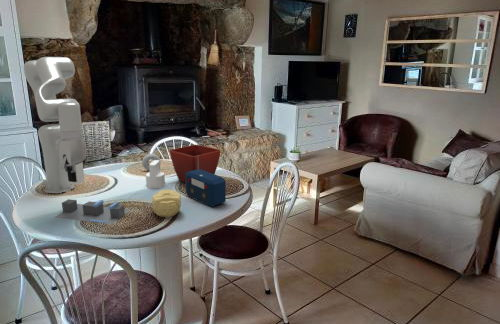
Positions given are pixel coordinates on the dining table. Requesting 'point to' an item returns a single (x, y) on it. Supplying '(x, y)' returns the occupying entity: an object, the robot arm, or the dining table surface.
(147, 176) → the cylinder with rectangular tab
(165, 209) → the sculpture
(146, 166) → the donut
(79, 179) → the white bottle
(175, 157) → the plant pot
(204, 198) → the radio
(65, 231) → the dining table surface
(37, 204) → the dining table surface
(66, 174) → the robot arm
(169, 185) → the dining table surface
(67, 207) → the grey toy block board
